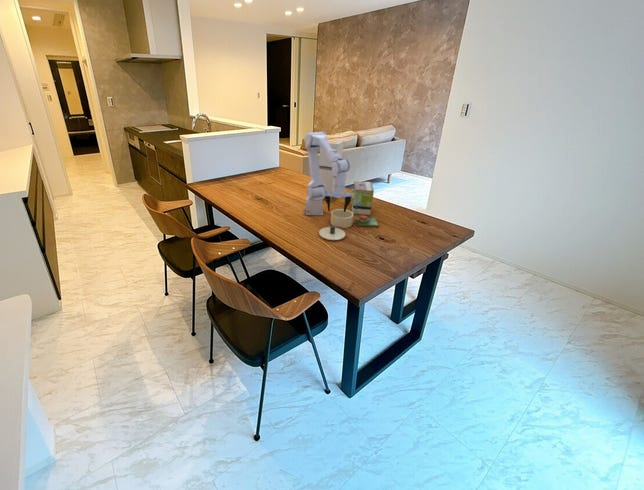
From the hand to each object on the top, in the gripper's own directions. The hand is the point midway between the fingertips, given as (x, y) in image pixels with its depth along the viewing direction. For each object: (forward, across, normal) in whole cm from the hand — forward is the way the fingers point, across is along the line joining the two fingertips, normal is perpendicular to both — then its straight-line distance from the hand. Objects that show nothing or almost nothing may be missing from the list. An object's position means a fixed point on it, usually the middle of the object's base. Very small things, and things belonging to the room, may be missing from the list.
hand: (336, 210), depth 147 cm
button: (+7, +15, +6) cm, 17 cm away
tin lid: (+9, -2, -8) cm, 12 cm away
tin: (+9, +4, +6) cm, 11 cm away
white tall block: (+10, -1, +42) cm, 43 cm away
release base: (+9, +17, +6) cm, 20 cm away
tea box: (+10, +17, +24) cm, 30 cm away
